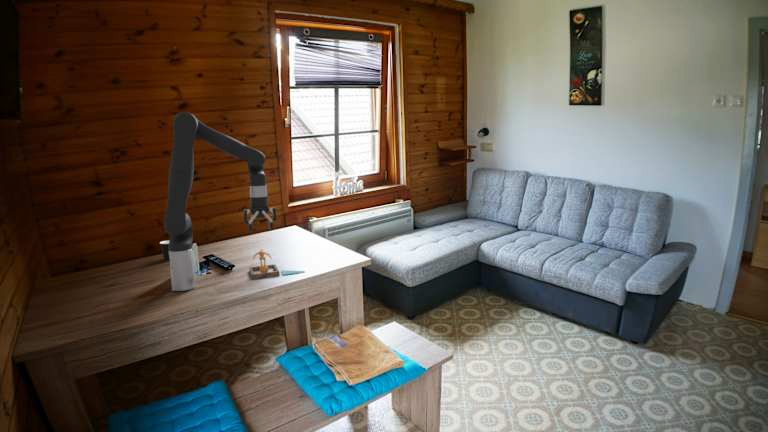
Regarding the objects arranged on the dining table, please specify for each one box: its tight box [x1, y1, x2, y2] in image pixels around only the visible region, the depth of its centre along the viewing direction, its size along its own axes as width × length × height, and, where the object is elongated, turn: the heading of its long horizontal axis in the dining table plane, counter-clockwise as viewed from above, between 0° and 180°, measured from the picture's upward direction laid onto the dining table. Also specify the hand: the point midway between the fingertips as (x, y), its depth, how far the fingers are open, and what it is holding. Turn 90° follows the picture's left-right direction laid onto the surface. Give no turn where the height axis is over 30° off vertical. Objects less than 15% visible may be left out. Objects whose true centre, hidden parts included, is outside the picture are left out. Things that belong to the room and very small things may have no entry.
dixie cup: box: [159, 239, 170, 262], centre depth 229 cm, size 8×8×11 cm
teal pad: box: [280, 269, 305, 277], centre depth 205 cm, size 10×10×1 cm
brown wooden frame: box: [248, 264, 280, 280], centre depth 202 cm, size 12×14×2 cm
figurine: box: [253, 248, 272, 273], centre depth 201 cm, size 8×6×12 cm
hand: (261, 231), depth 200 cm, fingers open, 8 cm apart
